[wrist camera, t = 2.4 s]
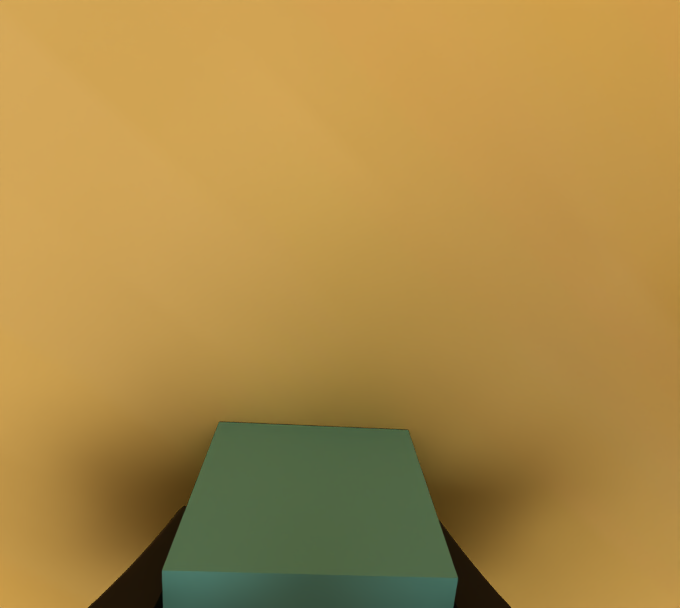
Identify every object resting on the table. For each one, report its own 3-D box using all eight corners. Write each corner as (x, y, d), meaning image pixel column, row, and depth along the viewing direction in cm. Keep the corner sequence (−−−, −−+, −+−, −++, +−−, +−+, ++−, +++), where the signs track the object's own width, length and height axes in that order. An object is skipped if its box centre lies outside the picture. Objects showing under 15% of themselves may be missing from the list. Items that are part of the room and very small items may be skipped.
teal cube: (408, 429, 13) (458, 578, 9) (390, 582, 15) (424, 784, 10) (219, 422, 13) (162, 570, 8) (218, 578, 14) (167, 783, 10)
